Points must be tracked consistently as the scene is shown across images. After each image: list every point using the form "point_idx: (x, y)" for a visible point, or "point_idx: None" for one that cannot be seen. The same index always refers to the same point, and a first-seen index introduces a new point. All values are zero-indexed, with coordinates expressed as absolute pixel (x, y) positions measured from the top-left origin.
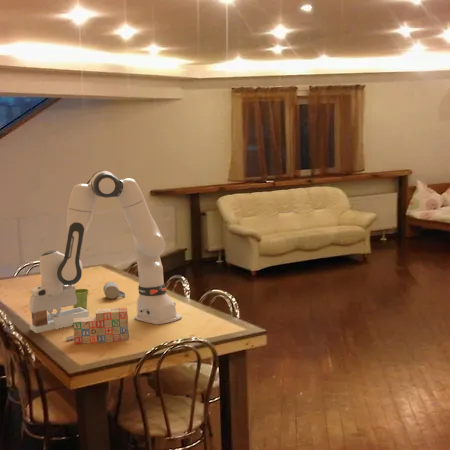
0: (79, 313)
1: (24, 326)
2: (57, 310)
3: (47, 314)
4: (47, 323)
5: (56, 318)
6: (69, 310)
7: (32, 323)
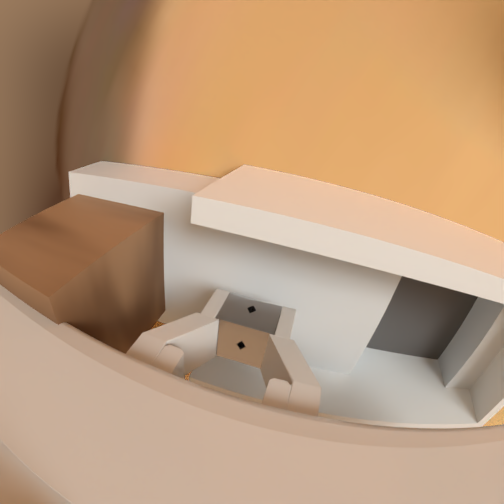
0: (423, 426)
1: (106, 43)
2: (285, 380)
3: (193, 216)
4: (159, 313)
5: (214, 388)
6: (502, 300)
7: (74, 197)
